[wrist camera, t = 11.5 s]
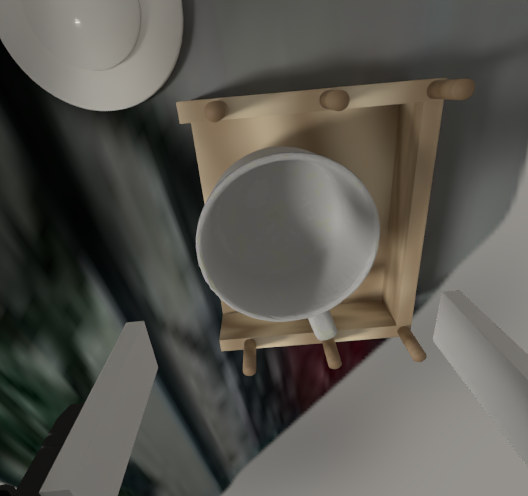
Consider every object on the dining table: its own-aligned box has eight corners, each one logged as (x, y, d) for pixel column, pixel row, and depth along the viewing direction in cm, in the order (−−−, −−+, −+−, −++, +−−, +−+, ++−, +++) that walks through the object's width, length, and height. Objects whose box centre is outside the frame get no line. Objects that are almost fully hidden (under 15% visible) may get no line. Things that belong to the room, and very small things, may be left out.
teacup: (194, 153, 24) (168, 179, 17) (340, 120, 23) (378, 132, 16) (239, 304, 30) (234, 372, 23) (356, 282, 29) (390, 344, 22)
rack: (225, 316, 32) (217, 379, 25) (190, 100, 23) (163, 103, 16) (388, 302, 32) (426, 362, 25) (411, 80, 23) (479, 75, 16)
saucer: (38, 117, 24) (23, 119, 22) (-42, -104, 19) (-70, -122, 17) (198, 102, 24) (195, 102, 22) (162, -125, 19) (154, -146, 17)
